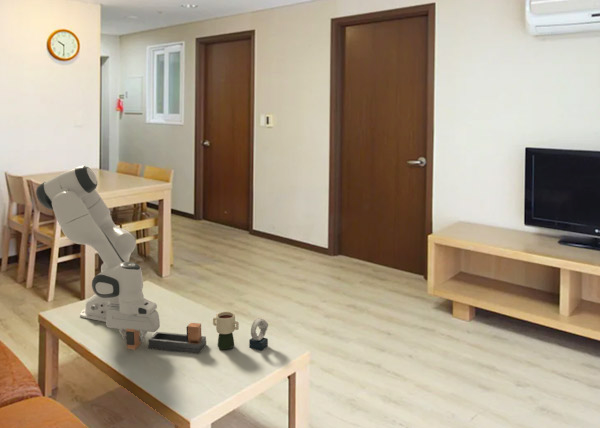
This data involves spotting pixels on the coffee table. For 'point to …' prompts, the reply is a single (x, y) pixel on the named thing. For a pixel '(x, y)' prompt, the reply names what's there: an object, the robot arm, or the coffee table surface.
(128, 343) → the orange block
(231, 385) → the coffee table surface
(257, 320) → the watch
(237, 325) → the character mug
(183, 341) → the dark grey tray
